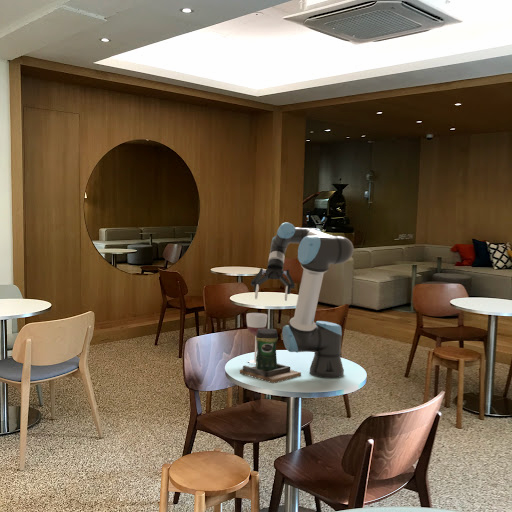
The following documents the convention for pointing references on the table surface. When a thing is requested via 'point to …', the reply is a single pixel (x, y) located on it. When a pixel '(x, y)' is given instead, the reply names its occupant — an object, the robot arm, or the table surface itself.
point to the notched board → (271, 373)
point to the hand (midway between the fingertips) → (270, 298)
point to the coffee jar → (266, 349)
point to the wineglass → (256, 326)
